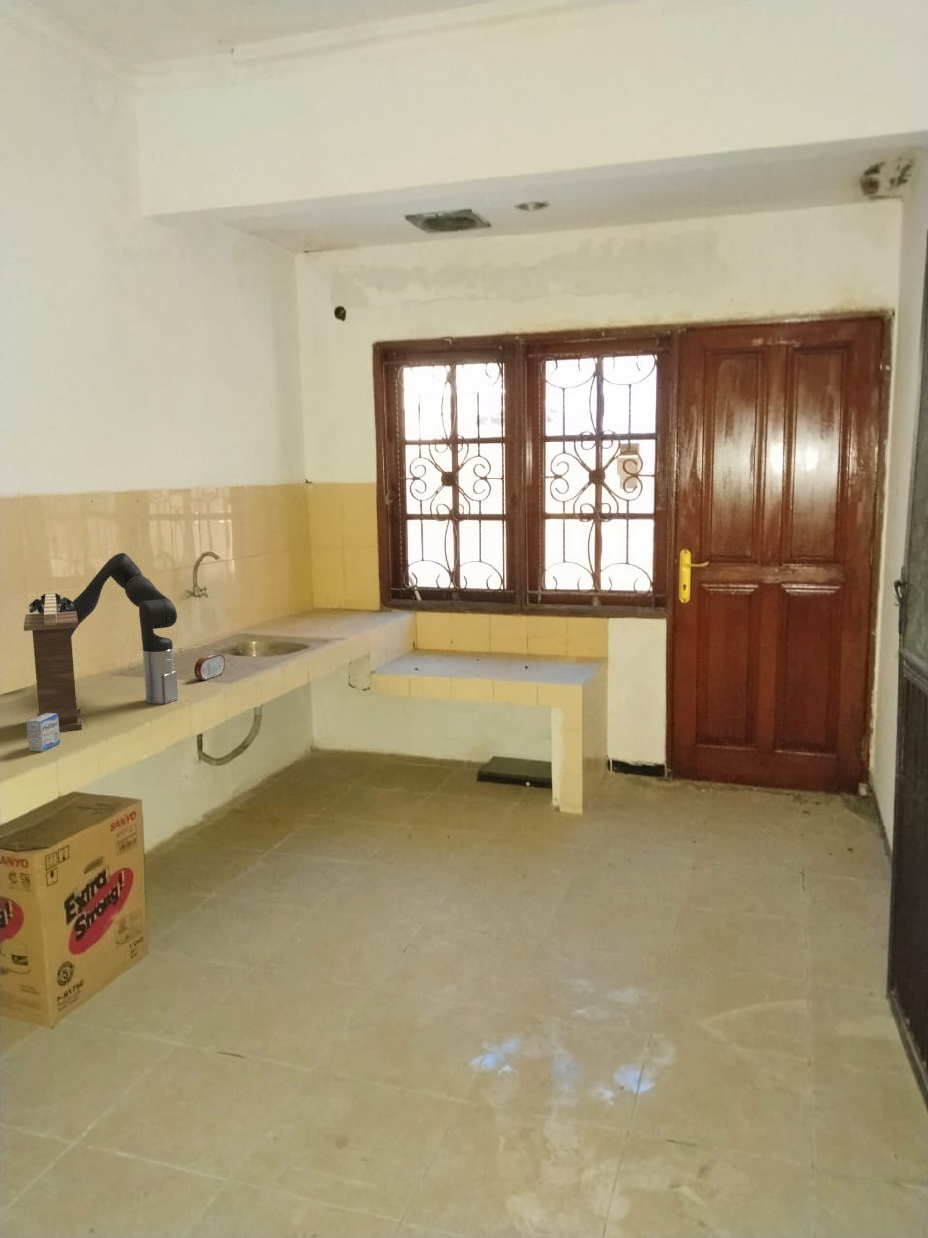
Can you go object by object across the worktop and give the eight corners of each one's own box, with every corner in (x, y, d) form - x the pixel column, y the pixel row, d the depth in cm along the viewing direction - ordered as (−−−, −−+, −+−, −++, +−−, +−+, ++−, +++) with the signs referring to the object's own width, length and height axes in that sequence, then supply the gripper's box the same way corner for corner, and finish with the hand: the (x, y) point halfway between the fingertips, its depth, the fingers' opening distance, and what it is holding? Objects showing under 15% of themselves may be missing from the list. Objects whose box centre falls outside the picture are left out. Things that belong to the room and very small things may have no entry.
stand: (34, 717, 277) (25, 614, 272) (83, 712, 283) (76, 611, 277) (32, 735, 259) (23, 625, 254) (85, 729, 265) (77, 622, 259)
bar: (46, 602, 288) (45, 593, 287) (56, 602, 289) (55, 593, 289) (44, 625, 252) (43, 614, 252) (56, 624, 253) (55, 614, 253)
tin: (220, 672, 335) (219, 650, 333) (227, 673, 334) (226, 651, 332) (194, 682, 321) (192, 658, 320) (201, 683, 320) (200, 659, 319)
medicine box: (43, 752, 245) (40, 721, 244) (28, 751, 246) (25, 720, 244) (60, 743, 253) (58, 713, 251) (46, 742, 253) (43, 712, 252)
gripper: (28, 606, 295) (24, 586, 280) (75, 603, 301) (74, 584, 286) (29, 628, 293) (26, 609, 278) (76, 625, 299) (75, 606, 283)
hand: (50, 596), depth 282 cm, fingers closed on bar, 3 cm apart
